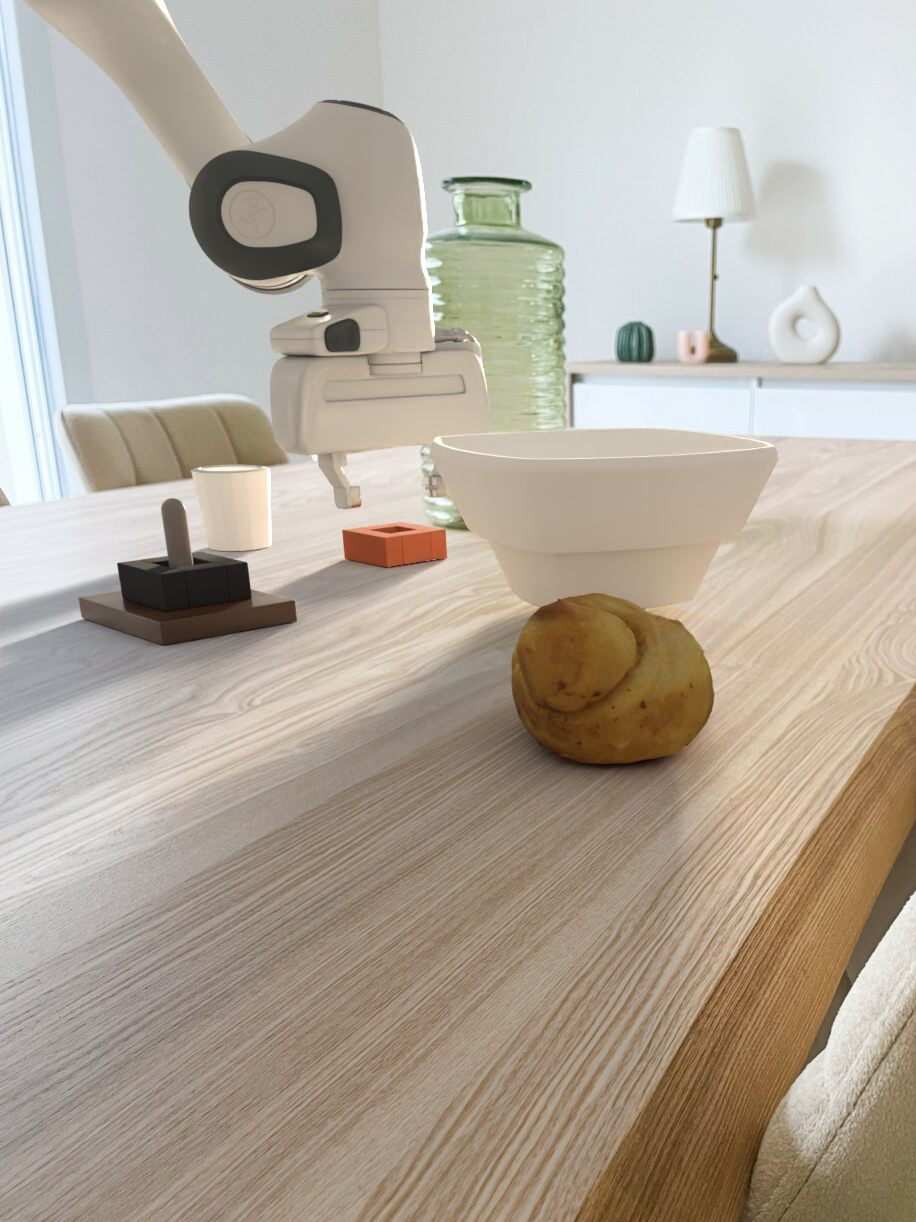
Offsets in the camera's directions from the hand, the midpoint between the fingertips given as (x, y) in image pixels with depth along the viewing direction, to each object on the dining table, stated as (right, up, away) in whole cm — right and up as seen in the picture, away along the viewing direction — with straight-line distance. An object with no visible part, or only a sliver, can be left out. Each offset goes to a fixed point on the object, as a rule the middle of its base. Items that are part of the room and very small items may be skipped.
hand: (394, 502), depth 112 cm
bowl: (+19, -13, -17) cm, 28 cm away
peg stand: (-10, -14, -21) cm, 27 cm away
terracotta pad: (0, -4, +2) cm, 5 cm away
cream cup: (-16, -2, +8) cm, 18 cm away
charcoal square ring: (-10, -13, -22) cm, 27 cm away
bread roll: (+20, -25, -46) cm, 56 cm away
